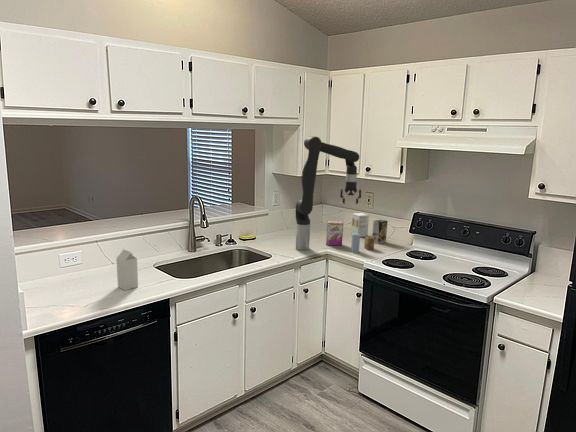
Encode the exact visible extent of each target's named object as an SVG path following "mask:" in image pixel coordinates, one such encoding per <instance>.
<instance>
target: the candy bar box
mask: <svg viewBox="0 0 576 432" xmlns="http://www.w3.org/2000/svg"><path fill="white" fill-rule="evenodd" d="M326 226H327V227H326V229H327V230H326V242H325V243H326V244H325V245H326V246H340V247H341V246H342V245H343V234H344V233H343V231H344V221H331V220H329V221H327V225H326Z"/></svg>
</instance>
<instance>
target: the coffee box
mask: <svg viewBox="0 0 576 432" xmlns="http://www.w3.org/2000/svg"><path fill="white" fill-rule="evenodd" d="M372 224H373V225H372V234H371V235H372V236H371V237H373V238H375V240H374V244H378V245H380V244H385V243H386V242H387V236H388V235H387V233H388V220H385V219H378V220H373V223H372Z"/></svg>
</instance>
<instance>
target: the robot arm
mask: <svg viewBox="0 0 576 432" xmlns="http://www.w3.org/2000/svg"><path fill="white" fill-rule="evenodd" d="M303 145H304V148H305V149H306V150H308V154H307V155H308V156H307V159H306V162H305V164H304V165H303V169H302V173H301V187H302V199H300V200H298V201H297V202H296V204H295V221H296V224H295V225H296V227H295V229H296V230H295V250H299V251H307V250H309V249H310V241H311V240H310V239H311V238H310V236H311V219H310V217H309V215H310V214H311V212H313V211H312V210H313V208H314V193H315V192H314V191H315V185H316V179H317V169H318V162H319V157H320V153H325V154H326V155H330V156H331V157H334V158H338V159H342V160H345V167H346V175H345V188H340V195H339V197H340V199H342V203H343V205H344V204H346V202H345V201H346V197H347V196H354V197H355V205H358V203H359V199H361V198H362V189H361V188H359V189H357V187H358V186H357V184H358V183H357V182H358V176H357V175H358V174H357V173H358V169H357V168H358V167H357V166H356V164H355V163H356V162H358V161H359V159H360V155H359V153H358V152H357V151H354V150H350V149H346V148H343V147H341V146H338V145H334V144H329V143H326V142H322V140H321V139H320V137H319V136H314V135H313V136H312V135H311V136H308V137H307V136H306V138H305V139H304V141H303ZM344 192H345V193H344ZM343 193H344V194H343ZM356 193H358V195H357V194H356Z"/></svg>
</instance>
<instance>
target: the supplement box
mask: <svg viewBox="0 0 576 432" xmlns="http://www.w3.org/2000/svg"><path fill="white" fill-rule="evenodd" d="M369 217H370V215H369V214H367V213H363V212H355V213H352V218H351V233H350V234H351V235H352V233H355V234H359V235H360V238H362V237H363V238H365V237H368V235H369V234H368V232H369Z"/></svg>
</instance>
